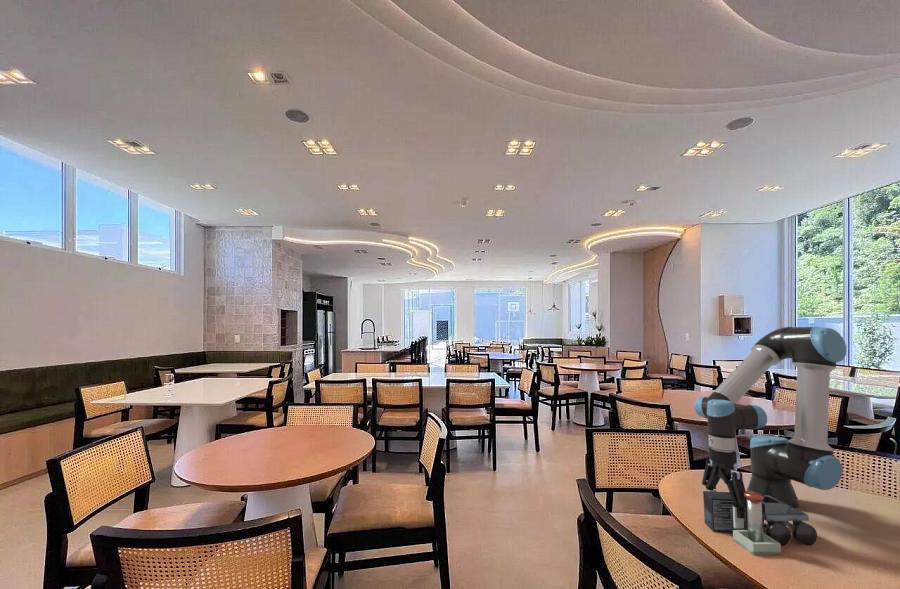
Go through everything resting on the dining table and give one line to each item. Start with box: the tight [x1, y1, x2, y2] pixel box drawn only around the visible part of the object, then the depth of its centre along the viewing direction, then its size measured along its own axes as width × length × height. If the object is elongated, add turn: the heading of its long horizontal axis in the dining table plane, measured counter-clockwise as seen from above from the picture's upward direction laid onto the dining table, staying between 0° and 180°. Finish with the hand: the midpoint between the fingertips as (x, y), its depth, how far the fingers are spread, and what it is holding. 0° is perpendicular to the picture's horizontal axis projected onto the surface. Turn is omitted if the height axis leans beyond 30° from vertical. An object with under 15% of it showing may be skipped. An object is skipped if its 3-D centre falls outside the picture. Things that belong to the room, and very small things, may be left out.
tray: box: [732, 530, 782, 556], centre depth 121 cm, size 8×8×3 cm
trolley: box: [761, 495, 818, 547], centre depth 128 cm, size 14×12×11 cm
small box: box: [702, 490, 748, 534], centre depth 132 cm, size 11×6×10 cm, turn 81°
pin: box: [744, 490, 764, 543], centre depth 121 cm, size 5×5×14 cm
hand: (725, 518), depth 132 cm, fingers open, 11 cm apart
